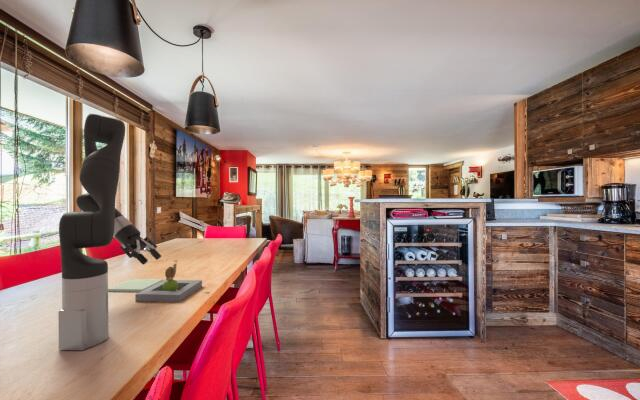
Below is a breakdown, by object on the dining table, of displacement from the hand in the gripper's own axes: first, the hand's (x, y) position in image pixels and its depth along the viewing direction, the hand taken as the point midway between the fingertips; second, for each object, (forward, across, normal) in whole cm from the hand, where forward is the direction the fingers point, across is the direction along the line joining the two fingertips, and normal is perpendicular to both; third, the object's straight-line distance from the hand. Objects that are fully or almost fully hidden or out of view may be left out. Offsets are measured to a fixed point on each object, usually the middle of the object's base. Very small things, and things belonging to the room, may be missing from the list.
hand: (152, 260), depth 114 cm
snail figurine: (+14, 0, +4) cm, 15 cm away
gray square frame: (+14, 0, +4) cm, 15 cm away
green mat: (0, +8, +17) cm, 19 cm away
